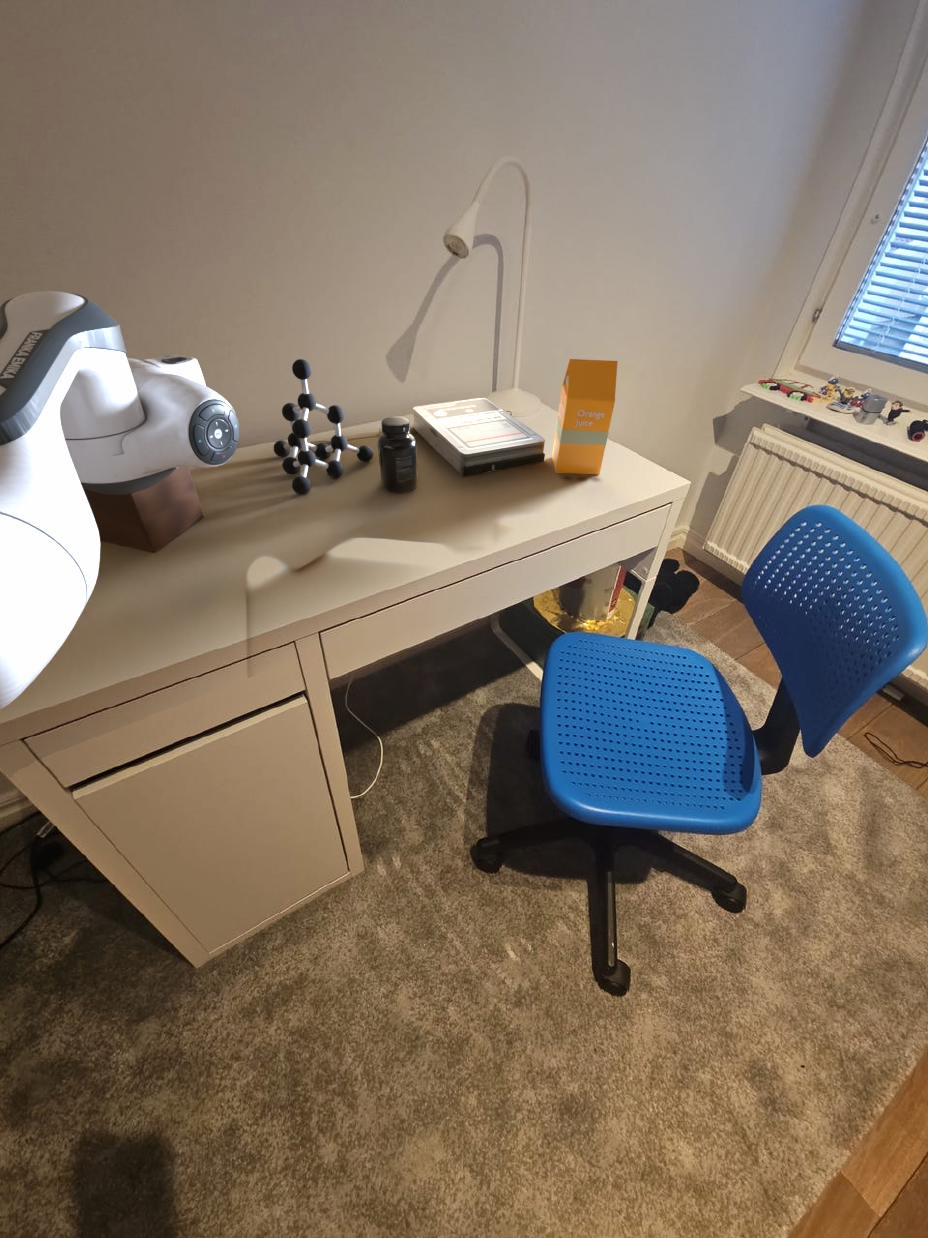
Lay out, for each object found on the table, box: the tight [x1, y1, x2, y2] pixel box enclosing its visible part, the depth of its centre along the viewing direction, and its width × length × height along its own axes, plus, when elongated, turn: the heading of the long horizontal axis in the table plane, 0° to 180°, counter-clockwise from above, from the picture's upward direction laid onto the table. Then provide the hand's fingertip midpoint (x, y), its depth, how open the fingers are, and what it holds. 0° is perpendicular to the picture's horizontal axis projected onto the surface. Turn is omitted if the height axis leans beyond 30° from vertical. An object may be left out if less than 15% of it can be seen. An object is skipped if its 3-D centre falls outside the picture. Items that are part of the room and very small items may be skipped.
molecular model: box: [273, 358, 374, 496], centre depth 98 cm, size 18×20×20 cm
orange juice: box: [551, 358, 618, 475], centre depth 103 cm, size 8×9×20 cm
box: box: [83, 466, 205, 554], centre depth 84 cm, size 11×12×10 cm
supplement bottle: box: [376, 416, 418, 494], centre depth 96 cm, size 7×7×12 cm
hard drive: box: [412, 397, 546, 478], centre depth 115 cm, size 18×27×4 cm
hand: (85, 375), depth 71 cm, fingers closed on can, 6 cm apart
